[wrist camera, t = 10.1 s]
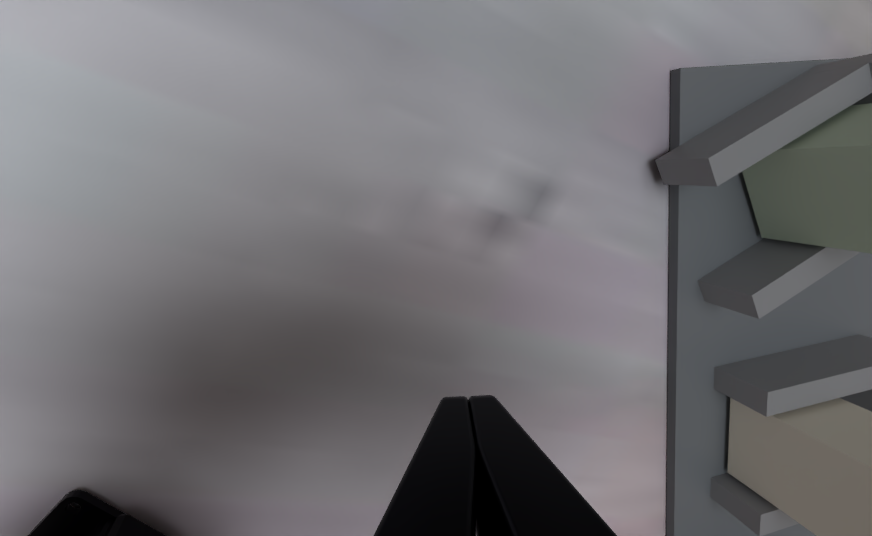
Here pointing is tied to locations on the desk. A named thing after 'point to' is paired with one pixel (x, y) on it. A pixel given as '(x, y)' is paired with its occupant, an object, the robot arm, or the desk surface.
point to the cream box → (808, 463)
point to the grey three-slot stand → (751, 284)
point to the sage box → (819, 185)
